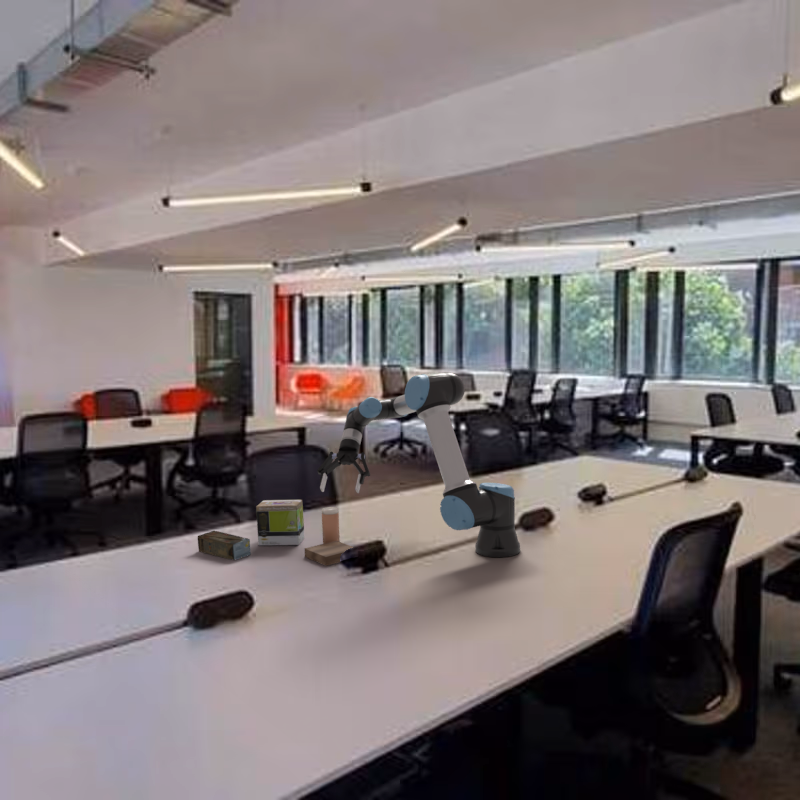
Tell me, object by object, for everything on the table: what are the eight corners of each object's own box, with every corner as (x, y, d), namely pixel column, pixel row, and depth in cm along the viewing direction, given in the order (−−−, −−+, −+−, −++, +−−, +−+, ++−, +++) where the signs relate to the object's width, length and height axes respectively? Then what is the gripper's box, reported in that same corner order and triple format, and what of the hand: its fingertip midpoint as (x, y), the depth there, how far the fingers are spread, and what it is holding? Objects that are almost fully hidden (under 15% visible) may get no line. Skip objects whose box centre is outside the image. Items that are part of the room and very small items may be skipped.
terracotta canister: (343, 544, 277) (341, 509, 275) (329, 548, 273) (327, 512, 272) (333, 541, 281) (332, 506, 280) (319, 544, 278) (318, 509, 276)
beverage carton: (233, 561, 262) (232, 542, 261) (197, 552, 274) (196, 534, 273) (251, 555, 268) (250, 536, 268) (214, 546, 280) (213, 529, 279)
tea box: (304, 538, 287) (303, 498, 286) (298, 546, 277) (297, 505, 276) (265, 538, 289) (263, 499, 287) (257, 546, 279) (255, 505, 277)
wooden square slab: (358, 557, 262) (358, 548, 262) (326, 565, 254) (325, 556, 254) (336, 549, 272) (336, 540, 272) (304, 556, 264) (304, 548, 264)
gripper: (383, 449, 298) (374, 496, 286) (322, 448, 304) (310, 494, 292) (379, 437, 293) (369, 485, 280) (317, 437, 299) (304, 484, 286)
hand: (339, 490), depth 286 cm, fingers open, 13 cm apart
